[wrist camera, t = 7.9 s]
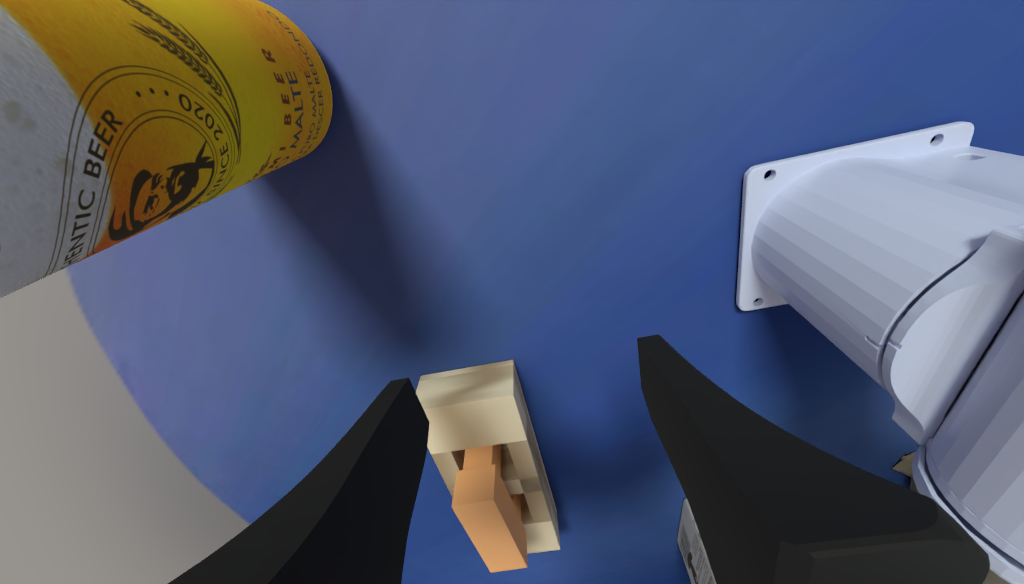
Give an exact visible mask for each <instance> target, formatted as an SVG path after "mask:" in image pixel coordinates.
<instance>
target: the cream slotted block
mask: <svg viewBox="0 0 1024 584" xmlns="http://www.w3.org/2000/svg"><path fill="white" fill-rule="evenodd" d="M416 394H417V396H418V399H419V401H420V403H421V405H422V407H423V409H424V411H425V414H426V416H427V418H428V420H429V434H428V444H427V447H428V449H429V451H430V453H431V455H432V457H433V459H434V461H435V463H436V465H437V467H438V469H439V471H440V473H441V475H442V477H443V479H444V481H445V483H446V485H447V487H448V490H449V492H450V494H451V496H452V498H453V494H454V486H455V479H456V472H457V471H461V470H463V465H464V457H465V449H471V448H478V447H484V446H491V445H498V444H501V474H500V476H501V478H502V480H503V482H504V484H505V486H506V489H507V491H508V493H509V495H515V494H521V521H522V523H523V525H524V527H525V529H526V532H527V553H536V552H544V551H553V550H560V540H559V529H558V518H557V510H556V506H555V503H554V499H553V496H552V492H551V489H550V485H549V482H548V478H547V475H546V471H545V468H544V464H543V461H542V457H541V454H540V450H539V447H538V443H537V440H536V437H535V433H534V430H533V426H532V423H531V419H530V416H529V412H528V409H527V405H526V402H525V398H524V395H523V391H522V388H521V384H520V381H519V377H518V374H517V370H516V367H515V363H514V360H508V361H503V362H497V363H491V364H485V365H480V366H474V367H468V368H462V369H457V370H451V371H445V372H439V373H433V374H428V375H422V376H421V377H420V380H419V384H418V387H417V390H416Z"/></svg>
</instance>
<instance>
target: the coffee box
mask: <svg viewBox="0 0 1024 584" xmlns="http://www.w3.org/2000/svg"><path fill="white" fill-rule="evenodd" d="M677 541H678V545H679V547H680V550H681V553H682V556H683V559H684V562H685V565H686V569H687V572H688V575H689V578H690V581H691V584H716V581H715V578H714V575H713V572H712V569H711V566H710V563H709V560H708V557H707V554H706V551H705V548H704V545H703V542H702V539H701V536H700V534H699V531H698V528H697V525H696V522H695V519H694V516H693V514H692V511H691V508H690V505H689V502H688V500H687V498H685V499H684V502H683V507H682V513H681V520H680V525H679V532H678V538H677Z"/></svg>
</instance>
